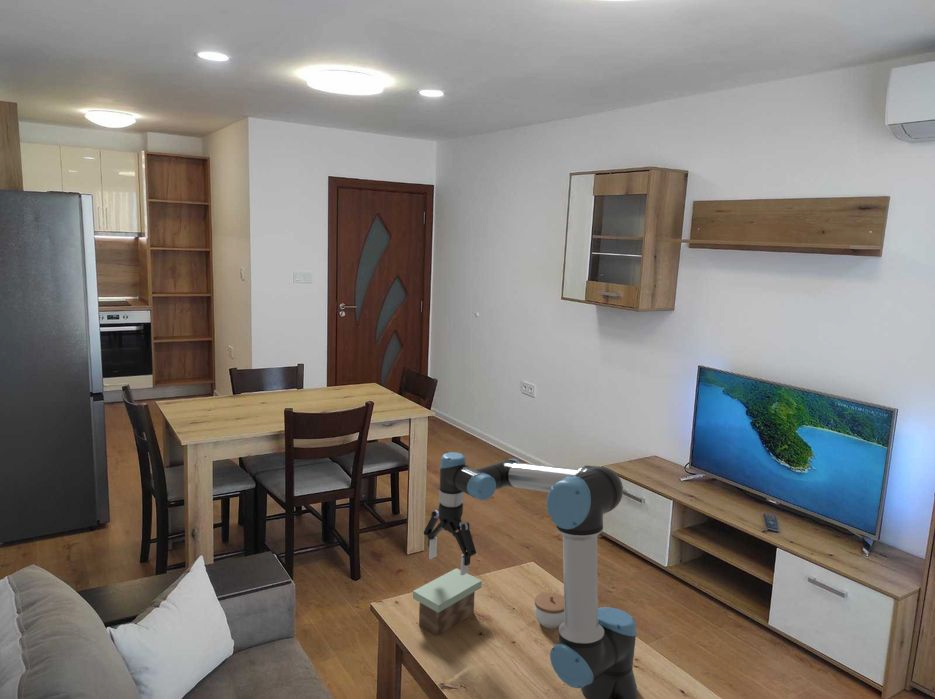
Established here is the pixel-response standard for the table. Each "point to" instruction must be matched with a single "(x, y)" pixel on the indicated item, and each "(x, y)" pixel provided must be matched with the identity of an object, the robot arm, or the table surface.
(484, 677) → the table surface
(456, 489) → the robot arm
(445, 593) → the lid
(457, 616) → the box
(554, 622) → the lidded jar
